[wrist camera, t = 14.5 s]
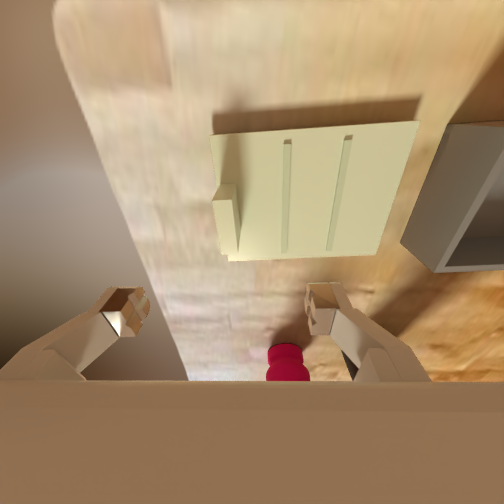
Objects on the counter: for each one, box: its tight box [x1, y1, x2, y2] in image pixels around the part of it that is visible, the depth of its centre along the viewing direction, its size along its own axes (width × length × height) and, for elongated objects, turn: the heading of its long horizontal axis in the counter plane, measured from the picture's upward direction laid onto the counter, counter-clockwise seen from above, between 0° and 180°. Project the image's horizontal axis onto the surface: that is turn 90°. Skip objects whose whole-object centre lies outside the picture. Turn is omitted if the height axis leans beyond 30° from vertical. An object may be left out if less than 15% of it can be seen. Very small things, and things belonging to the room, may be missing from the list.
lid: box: [209, 120, 420, 261], centre depth 19 cm, size 17×13×6 cm
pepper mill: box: [266, 343, 310, 381], centre depth 29 cm, size 7×7×20 cm
